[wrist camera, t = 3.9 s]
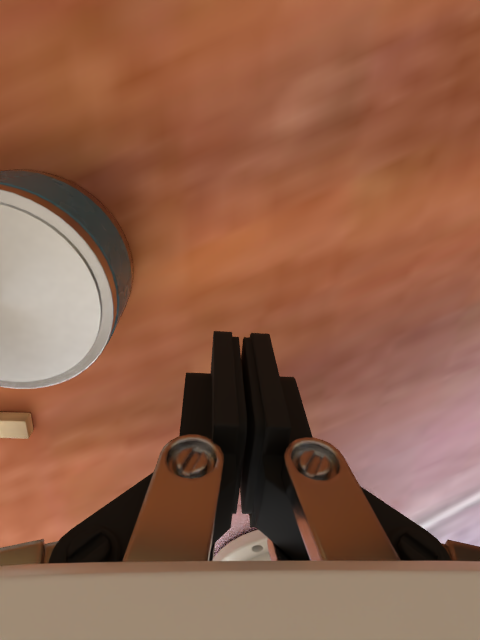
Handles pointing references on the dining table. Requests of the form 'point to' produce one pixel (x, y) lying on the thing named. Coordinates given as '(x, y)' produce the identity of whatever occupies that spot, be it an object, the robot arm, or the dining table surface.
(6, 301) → the tin
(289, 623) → the robot arm
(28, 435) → the spoon
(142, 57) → the dining table surface
